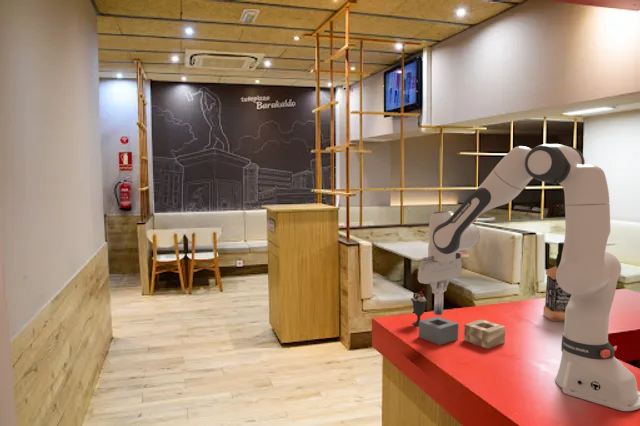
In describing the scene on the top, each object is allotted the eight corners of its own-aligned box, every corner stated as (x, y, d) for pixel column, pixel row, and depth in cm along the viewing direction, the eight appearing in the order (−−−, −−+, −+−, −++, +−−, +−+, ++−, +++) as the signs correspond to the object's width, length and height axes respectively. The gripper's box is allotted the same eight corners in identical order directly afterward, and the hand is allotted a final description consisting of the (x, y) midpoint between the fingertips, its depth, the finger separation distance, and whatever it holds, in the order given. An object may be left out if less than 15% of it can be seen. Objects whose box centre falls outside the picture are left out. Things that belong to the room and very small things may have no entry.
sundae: (427, 327, 189) (428, 290, 187) (410, 326, 190) (410, 289, 188) (427, 322, 195) (428, 286, 194) (410, 321, 196) (411, 285, 195)
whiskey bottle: (550, 321, 197) (554, 244, 193) (542, 314, 206) (546, 240, 203) (577, 322, 195) (581, 245, 192) (568, 315, 205) (572, 241, 202)
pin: (444, 313, 176) (445, 281, 175) (438, 315, 174) (440, 283, 173) (437, 311, 178) (438, 280, 177) (432, 313, 176) (433, 281, 175)
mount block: (504, 342, 173) (505, 326, 172) (487, 348, 167) (488, 332, 166) (480, 334, 181) (481, 319, 180) (464, 340, 175) (464, 324, 174)
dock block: (457, 339, 176) (458, 323, 175) (439, 345, 170) (440, 328, 169) (436, 331, 184) (436, 316, 183) (418, 337, 178) (419, 321, 177)
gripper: (427, 259, 165) (426, 298, 167) (465, 253, 177) (463, 289, 179) (414, 256, 170) (413, 294, 172) (451, 250, 182) (450, 286, 184)
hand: (439, 292), depth 175 cm, fingers closed on pin, 3 cm apart
